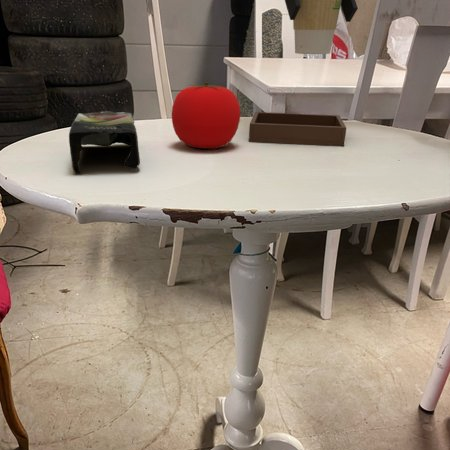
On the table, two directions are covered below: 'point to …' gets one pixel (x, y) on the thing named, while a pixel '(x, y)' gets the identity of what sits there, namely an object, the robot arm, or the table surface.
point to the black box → (104, 134)
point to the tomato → (205, 116)
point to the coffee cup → (315, 26)
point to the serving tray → (297, 129)
